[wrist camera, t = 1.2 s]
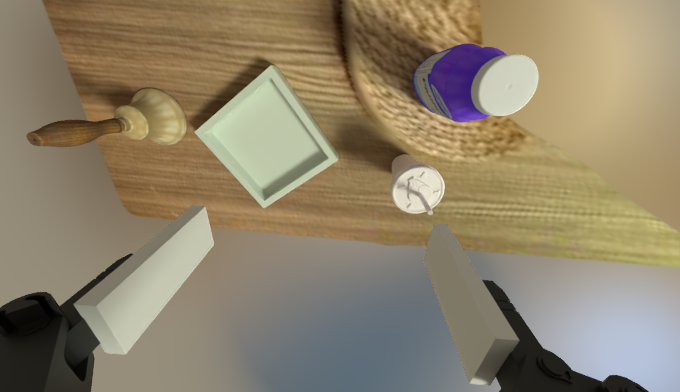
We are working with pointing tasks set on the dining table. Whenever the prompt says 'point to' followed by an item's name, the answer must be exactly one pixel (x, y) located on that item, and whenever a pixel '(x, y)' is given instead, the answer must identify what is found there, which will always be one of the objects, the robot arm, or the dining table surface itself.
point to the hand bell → (122, 123)
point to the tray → (268, 138)
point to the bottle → (475, 82)
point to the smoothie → (415, 185)
